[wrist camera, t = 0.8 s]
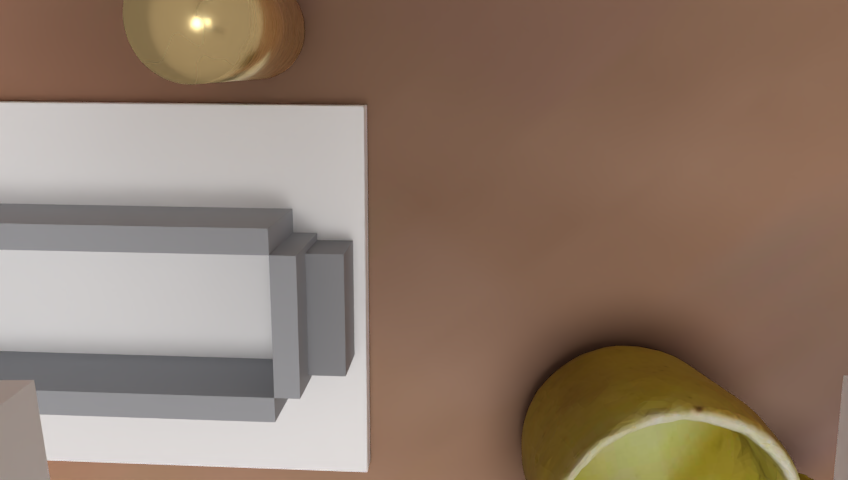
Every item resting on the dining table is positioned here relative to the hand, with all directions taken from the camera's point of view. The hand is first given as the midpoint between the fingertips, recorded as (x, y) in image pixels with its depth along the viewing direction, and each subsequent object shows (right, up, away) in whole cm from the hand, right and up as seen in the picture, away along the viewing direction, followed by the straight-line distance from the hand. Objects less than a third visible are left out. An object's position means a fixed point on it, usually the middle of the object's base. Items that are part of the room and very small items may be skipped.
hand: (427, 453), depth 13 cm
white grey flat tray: (-14, +1, +22) cm, 26 cm away
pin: (-7, +12, +19) cm, 24 cm away
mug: (+10, -5, +22) cm, 25 cm away
